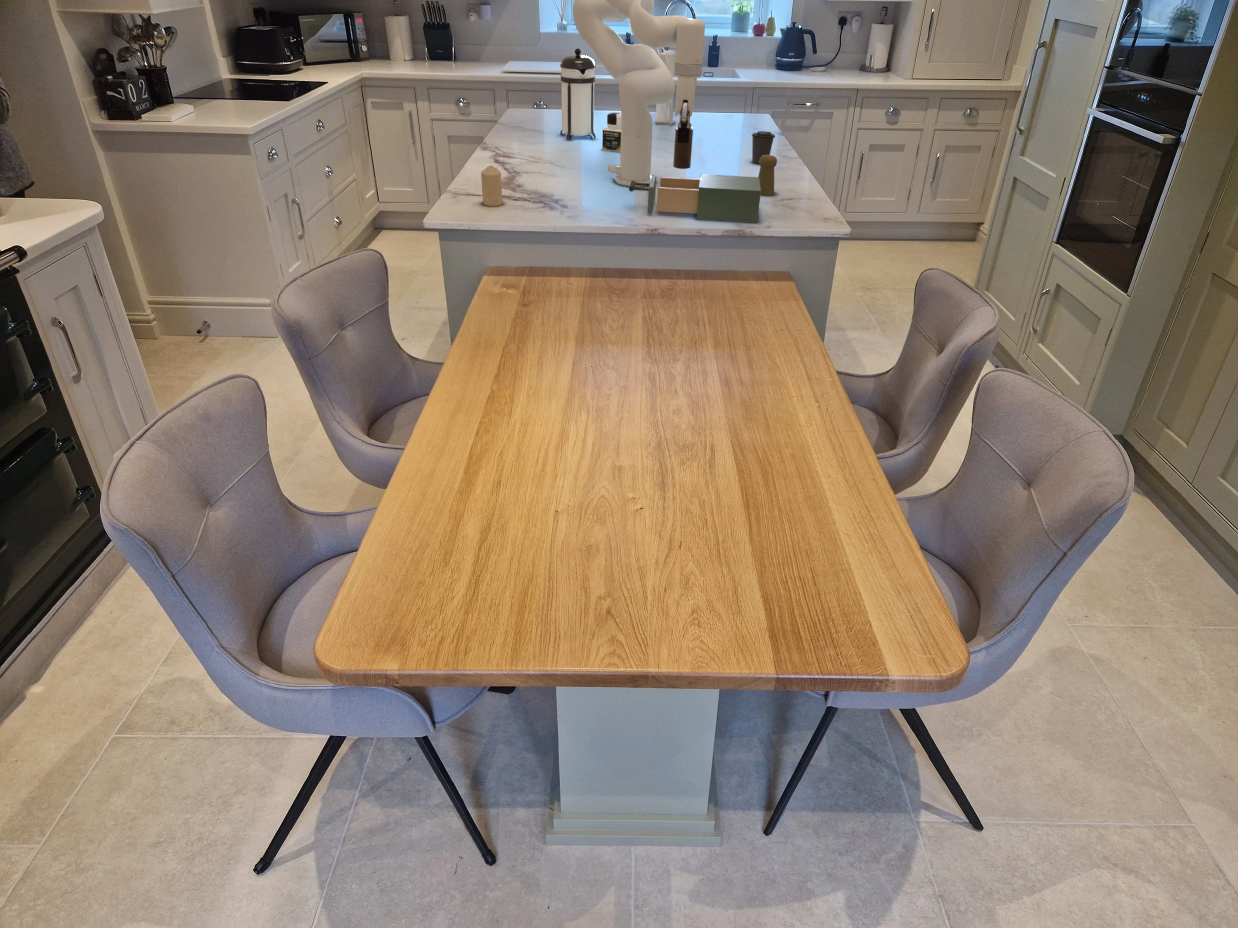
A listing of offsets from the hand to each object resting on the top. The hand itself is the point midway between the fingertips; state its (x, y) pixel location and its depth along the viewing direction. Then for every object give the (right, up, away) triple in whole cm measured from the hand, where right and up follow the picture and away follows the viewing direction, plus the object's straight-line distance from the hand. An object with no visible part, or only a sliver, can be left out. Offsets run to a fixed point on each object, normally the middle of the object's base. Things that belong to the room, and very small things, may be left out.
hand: (683, 140), depth 231 cm
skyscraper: (0, +48, +103) cm, 114 cm away
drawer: (-5, -20, -2) cm, 20 cm away
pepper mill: (0, -6, +4) cm, 7 cm away
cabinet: (+12, -22, -3) cm, 25 cm away
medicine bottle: (-20, +20, +60) cm, 66 cm away
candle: (-54, -19, -1) cm, 57 cm away
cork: (+26, -10, +16) cm, 32 cm away
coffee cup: (+30, +12, +49) cm, 59 cm away
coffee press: (-35, +32, +76) cm, 89 cm away
